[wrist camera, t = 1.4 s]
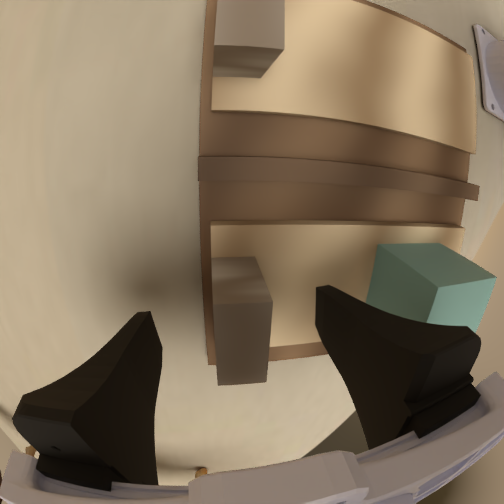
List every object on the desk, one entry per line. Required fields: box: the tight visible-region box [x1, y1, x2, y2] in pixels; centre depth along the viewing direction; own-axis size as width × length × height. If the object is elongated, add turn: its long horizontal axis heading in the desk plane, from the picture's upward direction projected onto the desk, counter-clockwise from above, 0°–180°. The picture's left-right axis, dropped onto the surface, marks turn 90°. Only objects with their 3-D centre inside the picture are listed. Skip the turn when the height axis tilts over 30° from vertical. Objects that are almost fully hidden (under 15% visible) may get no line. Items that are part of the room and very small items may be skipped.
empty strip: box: [211, 0, 476, 154], centre depth 9 cm, size 16×7×5 cm, turn 89°
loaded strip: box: [211, 220, 465, 386], centre depth 13 cm, size 16×7×5 cm, turn 89°
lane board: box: [198, 0, 479, 365], centre depth 13 cm, size 17×22×2 cm
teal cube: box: [366, 243, 497, 333], centre depth 13 cm, size 5×5×5 cm
